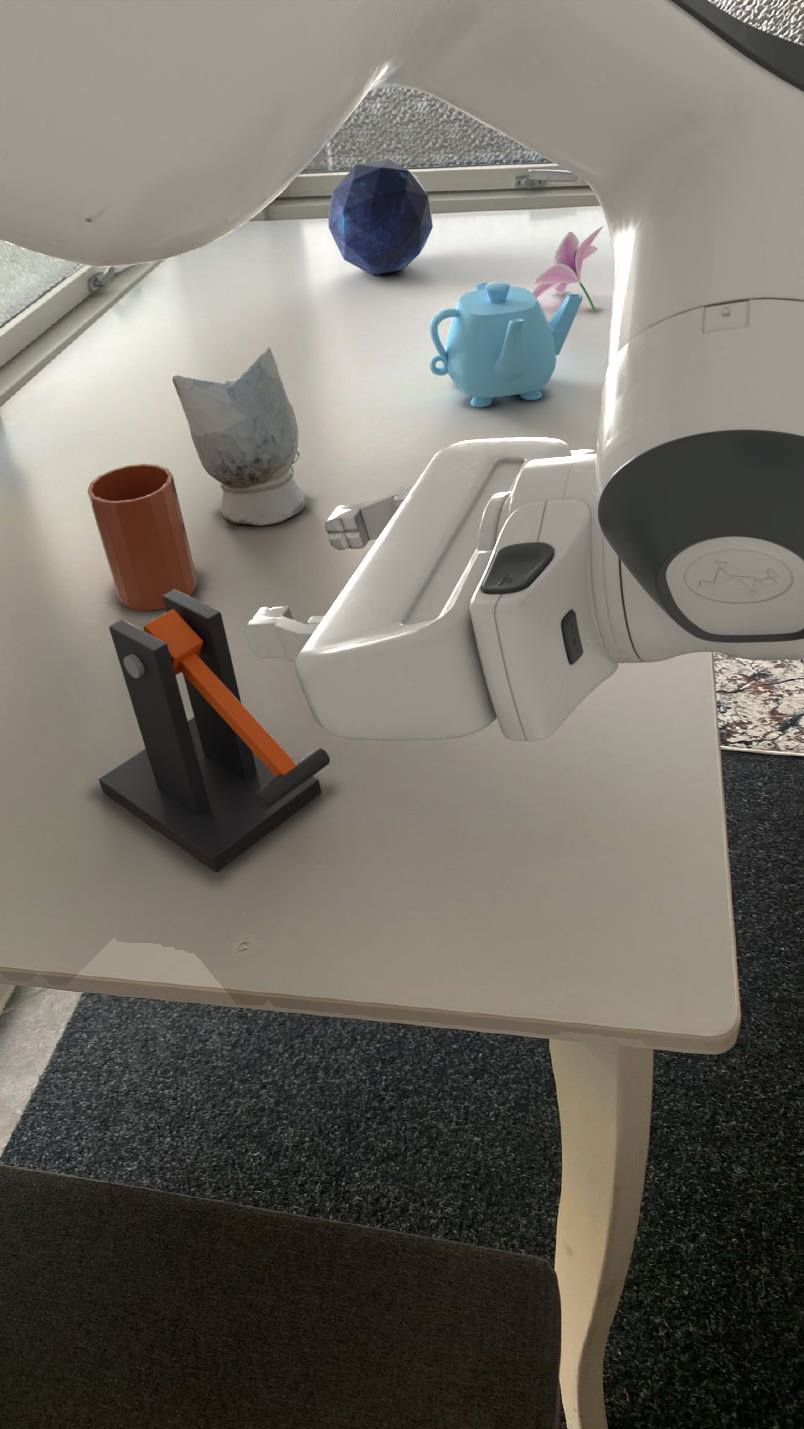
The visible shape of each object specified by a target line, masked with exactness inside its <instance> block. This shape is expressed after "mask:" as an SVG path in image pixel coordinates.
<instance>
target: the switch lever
mask: <svg viewBox="0 0 804 1429" xmlns="http://www.w3.org/2000/svg"><path fill="white" fill-rule="evenodd" d="M142 630H143V631H145V632H147V633H148V634H150V635H152V636H154V637H156V638H158V639H159V640H161V641H163V642H165V643H167V645H168V649H169V653H170V657H171V660H172V664H173V668H174V672H175V675H176V676H177V675H179V674H182V675H184V676H185V677H186V678H187V679H188V680H189V681H190V682H191V683H192V685H193V686H194V687H195V688H196V689H197V690H198V691H199V692H200V693H201V695H202V696H203V697H204V698H205V699H206V700H207V701H208V702H209V703H210V705H211V706H212V707H213V708H214V709H215V710H216V711H217V712H218V713H219V715H220V716H221V717H222V718H223V719H224V720H225V721H226V722H227V723H228V724H229V726H230V727H231V728H232V729H233V730H234V731H235V732H236V733H237V734H238V736H239V737H240V738H241V739H242V740H243V741H244V742H245V743H246V744H247V746H248V747H249V748H250V749H251V750H252V751H253V752H254V753H255V754H256V755H257V757H258V758H259V759H260V760H261V761H262V762H263V763H264V764H265V765H266V767H267V768H268V769H269V770H270V771H271V772H272V773H273V774H274V775H275V777H276V778H274V779H273V780H271V781H270V782H269V783H267V784H266V785H265V786H263V787H262V788H260V789H259V790H258V791H256V792H255V794H254V798H255V800H256V802H257V804H258V805H259V806H260V807H261V808H263V809H265V810H267V809H269V808H270V807H271V806H273V805H274V804H276V803H277V802H278V801H280V800H281V799H282V798H284V797H285V796H286V795H288V794H289V793H290V792H292V791H293V790H294V789H296V788H297V787H298V786H300V785H301V784H302V783H304V782H305V781H307V780H308V779H309V778H311V777H312V776H315V775H316V774H317V773H319V772H321V770H323V769H324V768H325V767H327V766H329V764H330V762H331V759H330V758H331V757H330V756H329V754H328V752H327V751H326V750H325V749H324V748H323V747H321V746H319V747H316V748H314V749H313V750H311V751H310V752H309V753H307V754H306V755H304V756H303V757H302V758H300V759H299V760H298V761H296V762H295V760H293V758H291V757H290V755H288V753H287V752H286V751H285V750H284V749H283V748H282V746H280V745H279V743H278V742H277V741H276V740H275V739H274V738H273V737H272V735H271V734H270V733H269V732H268V731H267V730H266V729H265V727H264V726H262V725H261V724H260V723H259V722H258V720H257V719H256V718H255V717H254V716H253V714H251V712H250V711H249V710H248V709H247V708H246V707H245V706H244V705H243V704H242V702H241V703H240V702H239V701H238V700H237V699H236V697H235V696H234V695H233V694H232V693H231V692H230V691H229V690H228V689H227V688H226V686H225V685H224V684H223V683H222V682H221V681H220V680H219V679H218V678H217V677H216V675H215V674H214V673H213V672H212V671H211V670H210V669H209V668H208V667H207V666H206V664H205V663H204V662H203V661H202V660H201V659H200V658H199V654H200V651H201V647H202V643H203V641H202V639H201V638H200V637H199V636H198V635H197V634H196V633H195V632H194V631H193V630H192V629H191V627H190V626H189V625H188V624H187V623H186V622H185V621H184V620H183V619H182V618H181V616H180V615H179V614H178V613H177V612H176V611H175V610H174V609H172V610H170V611H168V612H167V611H166V612H165V613H163V614H161V615H159V616H158V617H156V618H154V619H153V620H150V621H149V622H148V623H145V624H144V626H143V629H142ZM184 676H183V677H184Z"/></svg>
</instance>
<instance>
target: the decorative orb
mask: <svg viewBox="0 0 804 1429" xmlns="http://www.w3.org/2000/svg"><path fill="white" fill-rule="evenodd" d="M327 217H328V229H329V231H330V234H331V236H332V238H333V240H334V243H335V244H336V246H337V249H338V250H339V252H340V255H341V256H342V259H343V260H344V261H345V262H347V263H349V264H351V265H353V266H355V267H356V268H358V269H360V270H362V271H364V272H365V273H367V274H369V275H370V276H376V275H381V274H386V273H392V272H397V271H402V270H403V271H404V270H405V269H406V268H407V267H408V266H409V265H410V264H411V263H412V262H413V261H414V260H415V259H417V257H418V256H419V255H420V254H421V253H422V251H423V249H424V248H425V246H426V244H427V242H428V240H429V238H430V235H431V232H432V230H433V227H434V225H433V214H432V209H431V203H430V198H429V194H428V193H427V191H426V190H425V188H424V186H423V184H422V183H421V181H420V180H419V177H418V176H417V175H416V174H414V173H413V172H412V171H410V170H409V169H407V168H405V167H403V166H402V165H400V164H398V163H396V162H394V161H393V160H391V159H390V158H386V159H381V160H373V161H369V162H362V163H357V164H355V165H354V166H353V168H351V170H350V171H349V172H348V173H347V174H346V175H345V177H344V178H343V179H342V180H341V181H340V182H339V184H337V186H336V187H335V188H334V189H333V190H332V194H331V198H330V201H329V205H328V208H327Z"/></svg>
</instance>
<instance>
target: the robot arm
mask: <svg viewBox="0 0 804 1429" xmlns="http://www.w3.org/2000/svg"><path fill="white" fill-rule="evenodd" d="M387 88H389V89H390V88H394V89H408V90H412V91H415V92H420V93H423V94H426V95H427V96H430V97H432V98H434V99H437V100H438V101H441V102H442V103H444V104H446V105H448V106H449V107H451V108H453V109H455V110H456V111H459V112H461V113H463V114H464V115H466V116H467V117H470V118H471V119H473V120H475V121H477V122H479V123H481V124H482V125H484V126H486V127H488V128H490V129H491V130H493V131H496V132H497V133H498V134H501V135H502V136H504V137H505V138H508V139H510V140H512V141H513V142H515V143H517V144H519V145H521V146H522V147H524V148H526V149H528V150H529V151H531V152H533V153H535V154H538V155H539V156H541V157H543V158H544V159H546V160H548V161H550V162H552V163H553V164H555V165H557V166H559V167H561V168H563V169H564V170H566V171H568V172H570V173H571V174H573V175H575V176H577V177H579V178H580V179H582V180H583V181H584V182H585V183H586V184H587V185H588V186H589V187H590V189H591V190H592V192H593V193H594V195H595V197H596V199H597V201H598V203H599V206H600V208H601V211H602V213H603V217H604V219H605V222H606V226H607V230H608V235H609V238H610V243H611V249H612V257H613V266H614V267H613V268H614V269H613V270H614V272H613V273H614V276H613V278H614V279H613V289H612V290H613V292H612V299H611V300H612V301H611V309H610V310H611V312H610V322H609V332H608V341H607V343H608V344H607V353H606V365H605V374H604V377H603V381H602V386H601V396H600V405H599V417H598V425H597V426H598V428H597V439H596V442H597V443H596V450H594V449H577V450H576V449H575V450H571V448H570V446H569V445H568V443H566V442H565V441H563V440H561V439H559V438H553V437H552V438H551V437H500V438H484V439H483V438H482V439H470V440H469V439H468V440H462V441H458V442H455V443H453V444H450V445H448V446H445V447H443V448H441V449H439V450H438V451H437V452H436V453H435V454H434V456H433V457H432V459H431V460H430V462H428V464H427V466H426V467H425V469H424V470H423V472H422V473H421V475H420V476H419V478H418V479H417V480H416V482H415V483H414V485H413V486H401V487H398V488H397V489H394V490H391V491H389V492H386V493H384V494H381V495H378V496H376V497H374V498H371V499H369V500H367V501H364V502H361V503H360V502H359V503H351V504H341V505H338V506H336V508H335V509H334V510H333V512H332V514H331V515H330V516H329V517H328V518H327V520H326V521H325V523H324V528H325V531H326V533H327V534H328V540H329V543H330V545H331V546H332V547H333V548H334V549H335V550H339V551H344V550H347V549H350V550H359V549H360V550H361V549H364V548H365V547H366V546H367V544H368V543H369V542H370V541H374V540H375V542H374V544H373V545H372V547H371V548H370V549H369V551H368V552H367V554H366V555H365V556H364V558H363V559H362V561H361V563H360V564H359V565H358V567H357V568H356V570H355V571H354V573H353V574H352V576H351V577H350V579H349V580H348V582H347V583H346V584H345V586H344V587H343V589H342V590H341V592H340V593H339V595H338V596H337V598H336V599H335V600H334V602H333V603H332V605H331V606H330V607H329V609H328V611H327V612H326V614H325V615H313V616H310V618H309V619H308V620H307V623H303V622H301V621H299V620H295V619H294V617H293V614H292V612H291V609H290V606H289V605H288V606H287V605H286V606H274V607H272V608H269V607H268V606H264V607H260V608H259V609H258V610H257V611H256V612H255V613H254V615H253V616H252V617H251V618H250V620H249V621H248V623H246V625H245V626H244V629H243V635H244V637H245V639H246V642H247V644H248V647H249V649H250V651H251V653H252V654H253V655H255V656H256V657H257V658H260V659H279V658H280V659H281V658H284V659H285V658H286V660H288V661H290V662H292V663H293V664H294V668H295V673H296V676H297V679H298V681H299V684H300V687H301V691H302V693H303V696H304V698H305V701H306V703H307V705H308V708H309V710H310V713H311V716H312V718H313V719H314V721H315V722H316V724H318V725H319V726H320V727H321V728H322V729H323V730H325V731H326V732H327V733H329V734H330V735H332V736H334V737H337V738H341V739H347V740H348V739H349V740H358V741H359V740H360V741H361V740H362V741H387V742H388V741H392V742H394V741H395V742H396V741H400V742H401V741H402V742H403V741H405V742H406V741H439V740H442V741H443V740H451V739H458V738H462V737H463V738H464V737H466V736H470V735H473V734H476V733H478V732H480V731H482V730H484V729H486V728H487V727H489V726H490V725H491V724H493V723H494V722H495V721H496V719H497V722H498V725H499V728H500V731H501V733H502V735H503V736H504V738H505V739H507V740H510V741H517V742H518V741H519V742H536V741H542V740H545V739H547V738H549V737H550V736H552V735H554V733H555V732H556V731H557V730H558V729H559V728H560V727H561V726H562V725H563V723H564V722H565V721H566V720H567V719H569V717H570V716H571V715H572V713H573V712H574V711H575V710H576V708H578V706H579V705H580V704H581V703H583V701H584V700H585V699H586V698H587V697H588V696H589V695H590V694H591V693H592V692H593V691H594V690H596V689H597V687H599V686H600V685H601V684H602V683H603V682H605V681H606V680H607V679H609V678H611V677H612V676H613V675H614V674H615V672H616V671H617V670H618V668H619V664H644V663H646V664H647V663H648V664H649V663H657V662H658V663H659V662H662V661H663V662H664V661H667V660H670V659H674V658H676V657H680V656H684V655H688V654H695V653H717V654H723V655H728V656H732V657H736V658H739V659H743V660H747V661H748V660H749V661H799V660H804V44H800V43H797V42H794V41H792V40H788V39H786V38H783V37H780V36H778V35H774V34H772V33H769V32H767V31H765V30H762V29H759V28H758V27H755V26H753V25H752V24H749V23H747V22H744V21H743V20H741V19H739V18H737V17H735V16H733V15H731V14H730V13H729V12H727V11H725V10H723V9H721V8H720V7H718V6H717V5H715V4H714V3H712V2H711V1H710V0H0V241H2V242H5V243H8V244H10V245H12V246H15V247H17V248H21V249H24V250H26V251H29V252H32V253H34V254H35V253H36V254H39V255H42V256H45V257H49V258H51V259H56V260H60V261H64V262H68V263H72V264H76V265H81V266H86V267H91V268H113V267H115V268H116V267H130V266H136V265H142V264H149V263H156V262H159V261H160V262H161V261H164V260H167V259H172V258H176V257H179V256H182V255H186V254H188V253H190V252H193V251H195V250H198V249H201V248H203V247H205V246H207V245H210V244H212V243H214V242H216V241H218V240H220V239H221V238H224V237H225V236H227V235H229V234H230V233H232V232H233V231H235V230H237V229H238V228H240V227H241V226H243V225H244V224H247V222H249V221H250V220H251V219H253V218H254V217H256V216H257V215H258V214H259V213H261V212H262V211H263V210H264V209H265V208H266V207H268V206H269V205H270V204H271V203H272V202H273V201H274V200H276V198H277V197H279V196H280V195H281V194H282V193H283V192H284V190H286V189H287V188H288V186H290V185H291V184H292V182H294V180H295V179H297V177H298V176H299V175H301V173H302V172H303V171H304V170H305V169H306V168H307V167H308V166H309V165H310V164H311V163H312V162H313V161H314V159H315V158H316V157H317V156H318V155H319V154H320V153H321V152H322V151H323V149H324V148H326V146H327V145H328V144H329V143H330V142H331V140H332V139H333V138H334V137H335V135H336V134H337V133H338V131H339V130H340V129H341V128H342V127H343V125H345V123H346V121H347V120H348V119H349V118H350V116H351V115H352V114H354V111H355V110H356V109H357V108H358V106H359V105H360V104H361V103H362V102H363V100H364V99H365V98H366V96H368V94H369V92H372V91H374V90H379V89H380V90H381V89H387Z"/></svg>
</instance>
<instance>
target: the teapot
mask: <svg viewBox="0 0 804 1429" xmlns="http://www.w3.org/2000/svg"><path fill="white" fill-rule="evenodd" d="M582 301H583V296H582V294H580V293H567V294H566V297H565V299H564V300H563V301H562V303H561V305H560V306H559V307H558V309H557V310H556V312H555V314H554V315H553V317H552V318H551V320H550V321H549V320H548V318H547V315H546V314H545V311H544V309H543V306H542V304H541V303H540V301H539V299H538V297H537V298H536V296H535V295H534V294H533V292H531V291H530V290H529V289H527V288H524V287H521V286H515V285H511V284H510V283H508V282H505V281H493V282H490V283H489V282H485V283H484V282H483V283H480V284H477V285H475V286H474V287H473V290H472V291H469V292H466V293H464V294H462V296H460V298H459V299H458V301H457V304H456V306H455V308H451V307H449V308H444V309H442V310H440V311H438V312H437V313H436V314H435V315H434V316H433V317H432V318H431V320H430V323H429V334H430V338H431V341H432V344H433V345H434V347H435V349H436V351H437V353H438V355H435V356H432V358H431V359H430V362H429V371H431V373H432V374H433V375H434V376H438V377H442V376H446V375H447V374H448V376H449V377H450V379H451V381H452V382H453V384H455V386H456V387H457V388H458V389H459V390H460V391H461V392H463V393H464V394H465V395H468V396H470V397H472V398H471V400H470V405H471V406H472V407H475V408H485V407H488V406H490V405H492V402H493V398H500V397H508V396H515V395H520V398H521V399H523V400H526V401H535V400H538V399H540V398H542V397H543V394H542V392H541V389H543V388H544V387H546V386H547V384H548V383H549V381H550V380H551V378H552V376H553V374H554V372H555V370H556V365H557V356H559V355H560V353H561V351H562V349H563V347H564V344H565V342H566V339H567V338H568V334H569V332H570V330H571V327H572V325H573V323H574V321H575V318H576V316H577V313H578V311H579V308H580V306H581V304H582ZM449 318H451V321H450V324H449V326H448V331H447V336H446V340H445V347H444V345H443V343H442V340H441V338H440V335H439V330H438V329H439V325H440V324H441V323H442V321H444V320H447V319H449ZM438 362H441V363H442V364H441V366H440V367H438V366H437V365H436V364H437V363H438Z"/></svg>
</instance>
